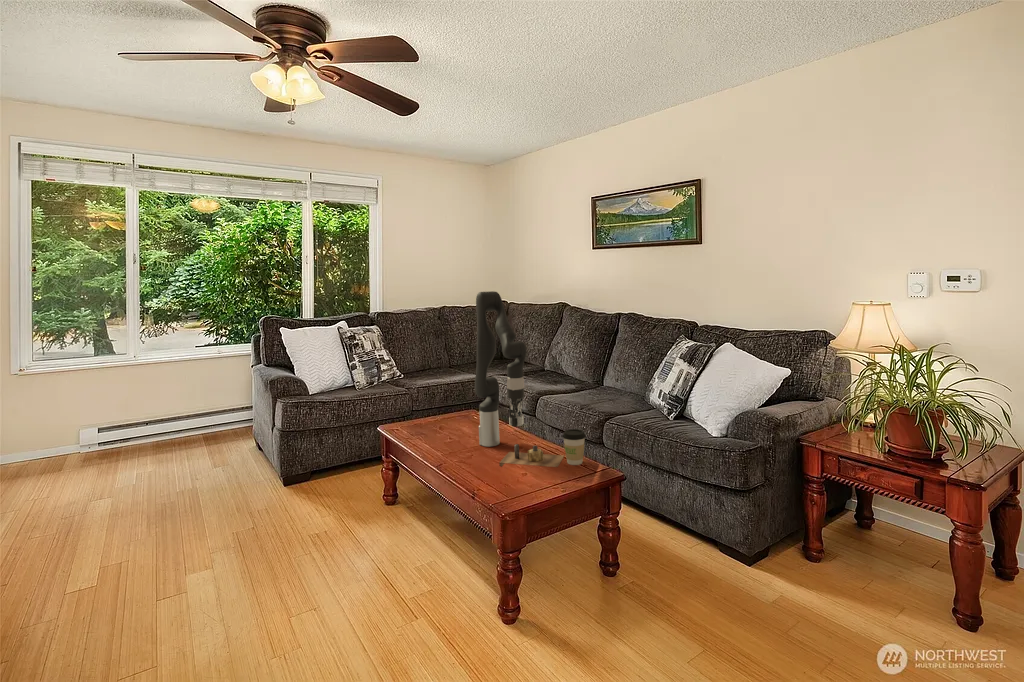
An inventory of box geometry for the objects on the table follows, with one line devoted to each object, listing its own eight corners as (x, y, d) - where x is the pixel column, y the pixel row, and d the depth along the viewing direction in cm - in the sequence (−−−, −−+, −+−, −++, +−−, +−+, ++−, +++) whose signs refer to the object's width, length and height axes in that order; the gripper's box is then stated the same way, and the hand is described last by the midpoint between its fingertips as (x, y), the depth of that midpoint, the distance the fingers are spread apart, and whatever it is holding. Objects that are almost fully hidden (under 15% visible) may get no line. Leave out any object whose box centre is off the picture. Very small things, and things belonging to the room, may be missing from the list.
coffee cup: (561, 462, 232) (560, 429, 230) (583, 460, 233) (582, 427, 231) (565, 470, 223) (564, 436, 221) (588, 469, 224) (587, 434, 221)
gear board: (499, 465, 231) (498, 449, 230) (509, 454, 244) (508, 439, 243) (557, 470, 223) (557, 453, 222) (564, 458, 236) (564, 442, 235)
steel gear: (508, 425, 232) (508, 416, 231) (512, 421, 237) (512, 413, 237) (521, 426, 230) (520, 417, 230) (524, 422, 236) (524, 413, 235)
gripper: (512, 382, 239) (513, 418, 242) (502, 390, 226) (503, 428, 228) (528, 383, 237) (529, 419, 240) (519, 391, 223) (520, 429, 226)
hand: (516, 423), depth 234 cm, fingers closed on steel gear, 5 cm apart
